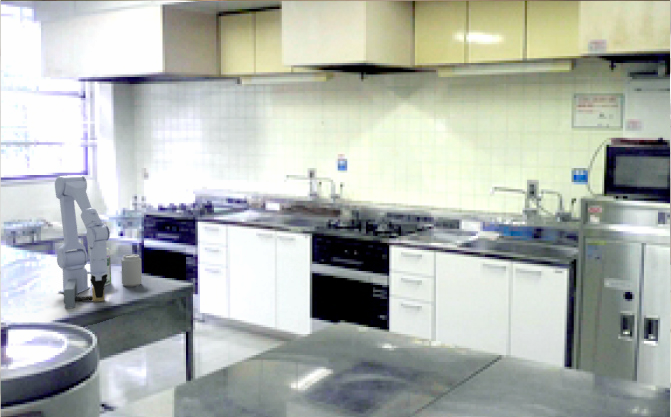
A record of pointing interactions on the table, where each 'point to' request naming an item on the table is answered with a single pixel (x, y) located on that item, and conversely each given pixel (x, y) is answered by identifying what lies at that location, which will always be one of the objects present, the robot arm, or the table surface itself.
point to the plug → (89, 297)
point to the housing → (70, 293)
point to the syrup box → (108, 268)
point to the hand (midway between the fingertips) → (99, 295)
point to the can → (131, 270)
